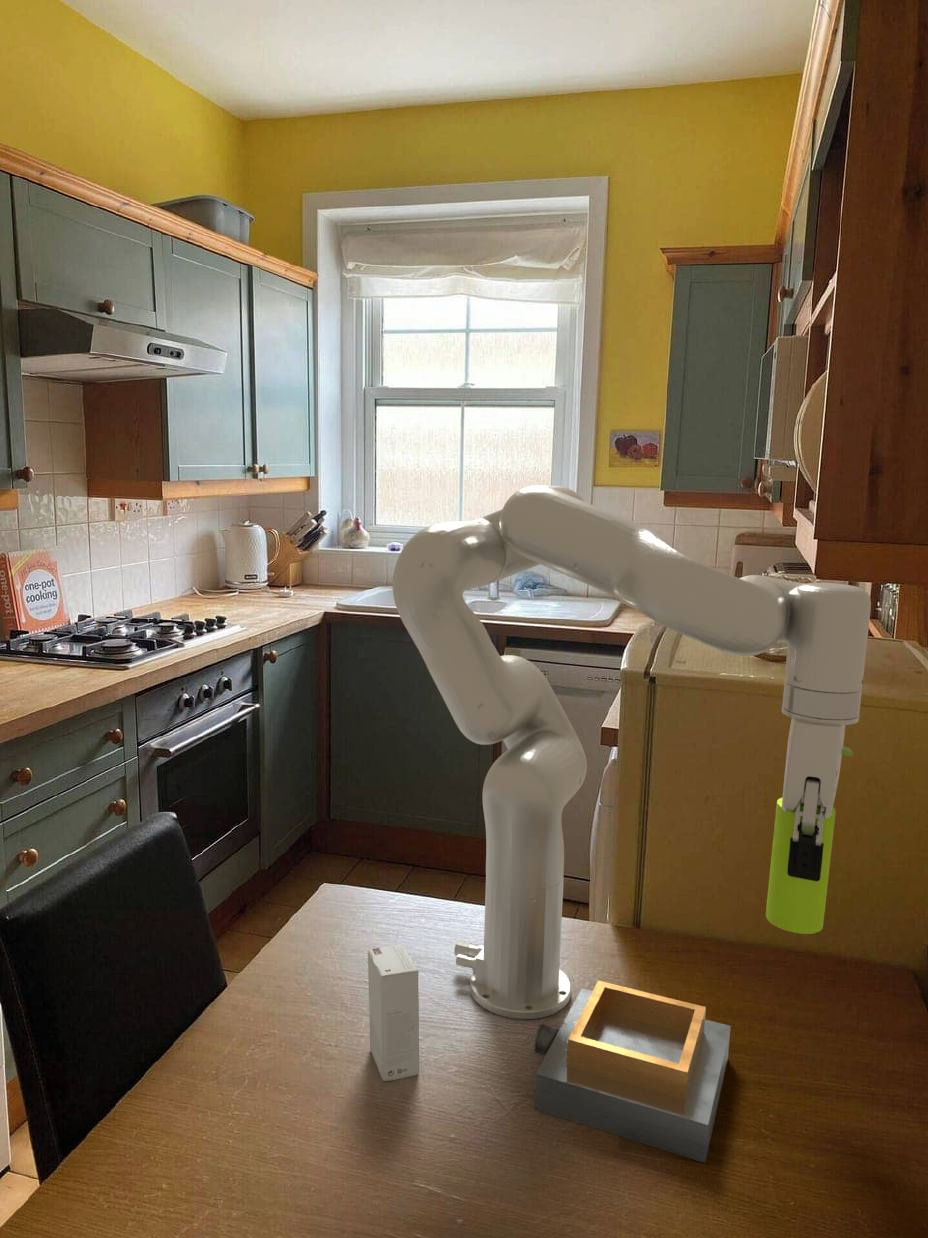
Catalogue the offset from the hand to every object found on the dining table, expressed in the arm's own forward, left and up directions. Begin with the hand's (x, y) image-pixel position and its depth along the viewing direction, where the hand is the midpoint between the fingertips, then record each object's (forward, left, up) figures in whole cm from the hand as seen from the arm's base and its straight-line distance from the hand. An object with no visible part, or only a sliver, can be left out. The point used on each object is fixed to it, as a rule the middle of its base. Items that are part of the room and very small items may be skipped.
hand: (804, 864), depth 96 cm
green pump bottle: (0, 0, -7) cm, 7 cm away
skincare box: (-40, -19, -24) cm, 50 cm away
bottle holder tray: (-16, -11, -23) cm, 30 cm away
